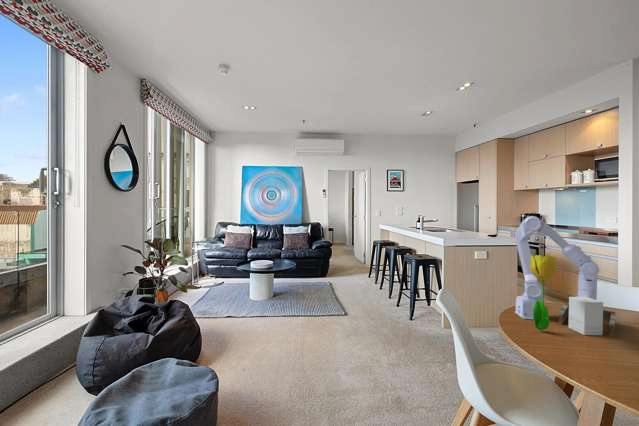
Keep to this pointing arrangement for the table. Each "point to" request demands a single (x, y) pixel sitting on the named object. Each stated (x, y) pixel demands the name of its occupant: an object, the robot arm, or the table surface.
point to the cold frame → (607, 317)
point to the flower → (543, 271)
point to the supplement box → (586, 315)
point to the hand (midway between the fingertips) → (586, 322)
